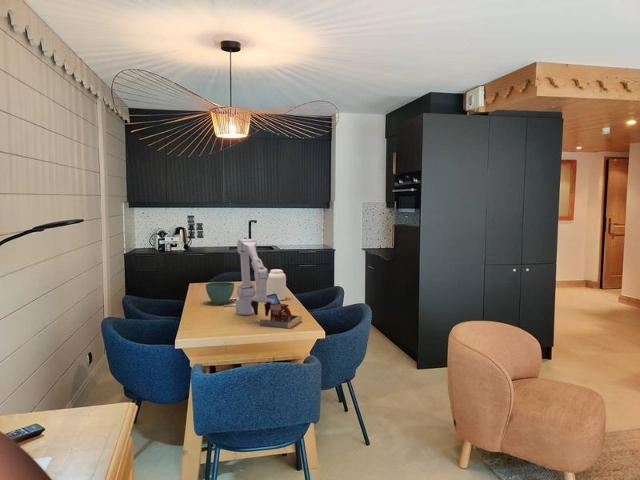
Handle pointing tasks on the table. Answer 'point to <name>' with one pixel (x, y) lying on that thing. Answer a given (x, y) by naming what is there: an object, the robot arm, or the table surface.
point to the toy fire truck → (280, 313)
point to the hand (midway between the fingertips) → (261, 315)
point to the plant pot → (220, 291)
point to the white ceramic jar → (277, 284)
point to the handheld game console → (275, 299)
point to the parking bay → (282, 322)
